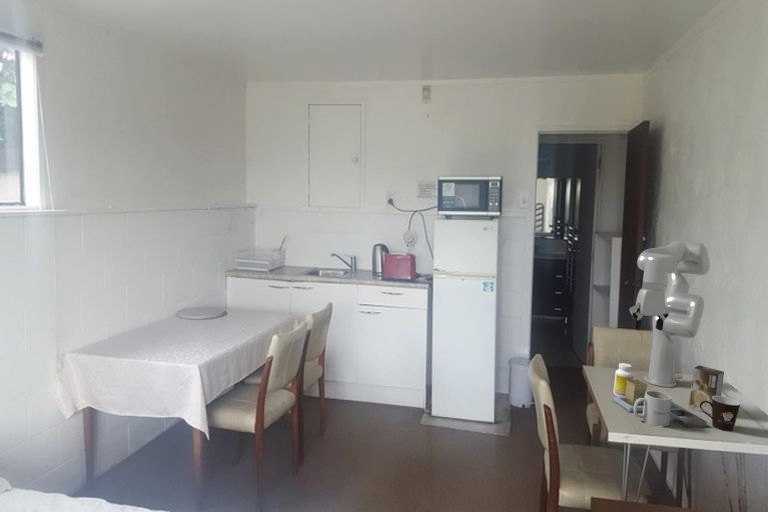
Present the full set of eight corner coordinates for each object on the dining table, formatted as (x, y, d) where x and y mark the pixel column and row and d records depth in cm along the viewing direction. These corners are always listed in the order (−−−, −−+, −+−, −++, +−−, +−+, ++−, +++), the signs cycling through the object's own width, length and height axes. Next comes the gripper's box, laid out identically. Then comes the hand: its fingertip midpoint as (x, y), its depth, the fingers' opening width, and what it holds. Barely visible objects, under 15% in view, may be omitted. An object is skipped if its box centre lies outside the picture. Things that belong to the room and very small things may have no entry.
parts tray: (638, 400, 216) (638, 396, 216) (656, 411, 205) (656, 407, 205) (612, 400, 214) (613, 396, 214) (629, 412, 203) (630, 407, 203)
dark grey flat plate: (665, 402, 215) (665, 397, 215) (706, 427, 194) (706, 421, 193) (644, 403, 214) (644, 398, 213) (683, 427, 192) (684, 421, 192)
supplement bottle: (632, 399, 217) (636, 368, 215) (614, 397, 218) (618, 366, 217) (628, 393, 223) (632, 363, 222) (611, 391, 225) (614, 361, 223)
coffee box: (720, 412, 209) (725, 371, 207) (713, 415, 205) (719, 374, 203) (694, 404, 216) (699, 364, 214) (687, 407, 212) (692, 367, 210)
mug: (664, 418, 199) (667, 392, 198) (671, 428, 191) (675, 401, 190) (628, 414, 202) (631, 388, 200) (634, 423, 193) (637, 396, 192)
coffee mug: (738, 427, 195) (742, 400, 193) (734, 434, 188) (738, 407, 187) (702, 417, 202) (705, 391, 201) (696, 424, 196) (700, 397, 195)
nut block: (636, 402, 213) (638, 379, 212) (645, 407, 207) (647, 384, 206) (623, 402, 212) (626, 379, 211) (632, 407, 206) (634, 384, 205)
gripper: (666, 285, 219) (661, 327, 221) (627, 284, 216) (622, 326, 218) (679, 289, 211) (673, 332, 213) (638, 288, 208) (633, 331, 210)
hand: (647, 329), depth 215 cm, fingers open, 9 cm apart
